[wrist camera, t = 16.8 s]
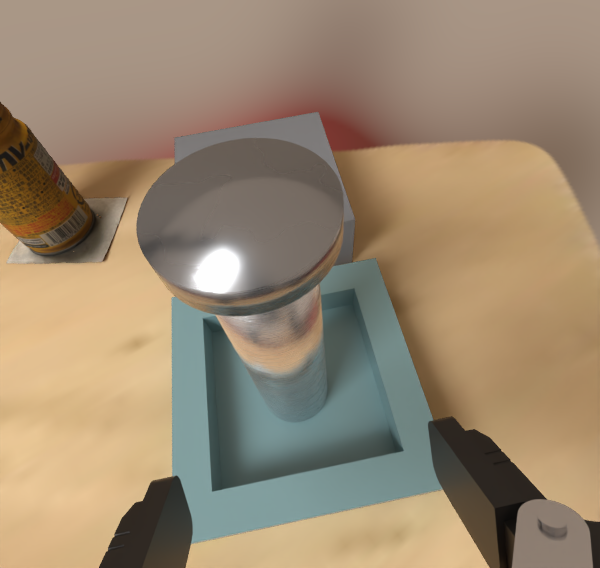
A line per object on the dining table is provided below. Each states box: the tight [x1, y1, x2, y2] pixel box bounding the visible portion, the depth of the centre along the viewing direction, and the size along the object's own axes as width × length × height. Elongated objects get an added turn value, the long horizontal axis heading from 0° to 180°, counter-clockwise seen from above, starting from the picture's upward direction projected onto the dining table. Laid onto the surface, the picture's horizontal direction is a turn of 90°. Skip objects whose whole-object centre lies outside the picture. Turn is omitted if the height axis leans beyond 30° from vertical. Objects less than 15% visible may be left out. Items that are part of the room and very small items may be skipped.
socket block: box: [175, 112, 355, 266], centre depth 30 cm, size 12×12×5 cm
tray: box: [172, 258, 443, 544], centre depth 23 cm, size 14×14×3 cm
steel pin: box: [137, 138, 344, 422], centre depth 17 cm, size 6×6×16 cm
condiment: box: [0, 102, 127, 264], centre depth 28 cm, size 7×8×12 cm
